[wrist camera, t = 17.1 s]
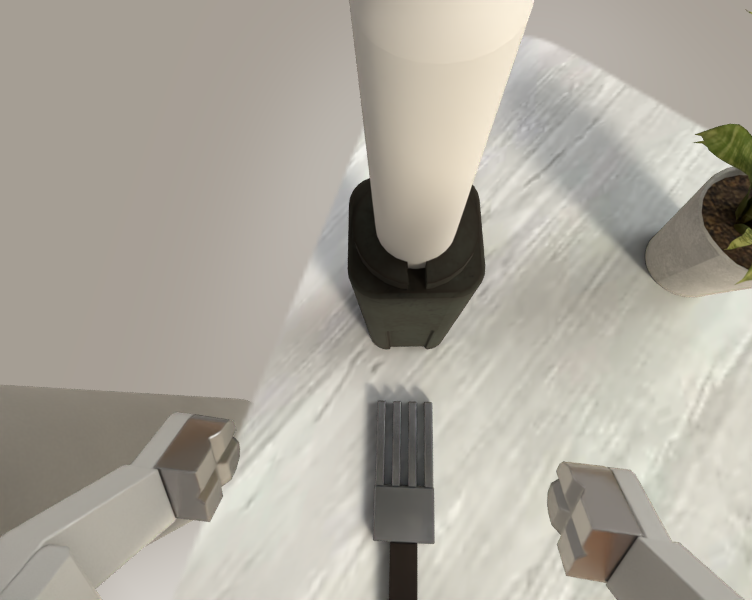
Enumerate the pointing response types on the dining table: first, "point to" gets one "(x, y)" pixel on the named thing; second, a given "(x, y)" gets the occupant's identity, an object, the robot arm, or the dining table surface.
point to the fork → (404, 500)
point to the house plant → (710, 226)
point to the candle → (424, 157)
